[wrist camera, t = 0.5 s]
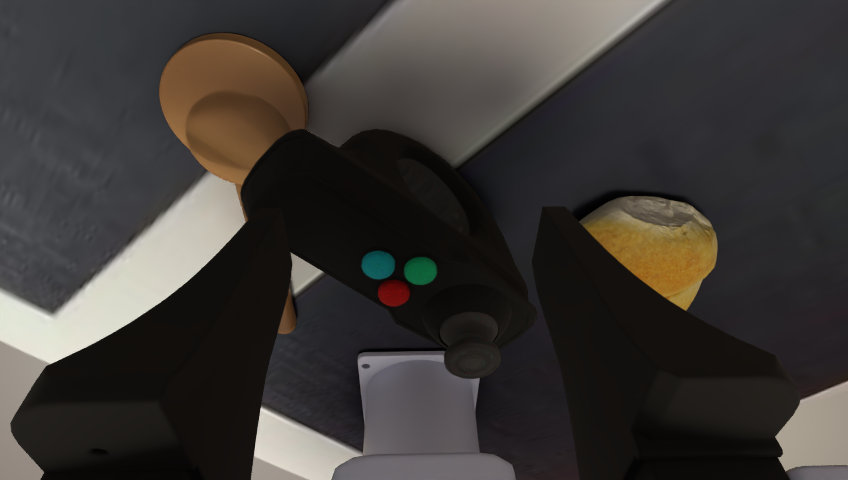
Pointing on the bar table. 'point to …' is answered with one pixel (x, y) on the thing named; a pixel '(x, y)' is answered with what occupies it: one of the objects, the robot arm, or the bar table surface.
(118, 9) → the bar table surface
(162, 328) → the robot arm
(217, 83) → the spoon
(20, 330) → the bar table surface
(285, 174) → the controller
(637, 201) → the bread roll
